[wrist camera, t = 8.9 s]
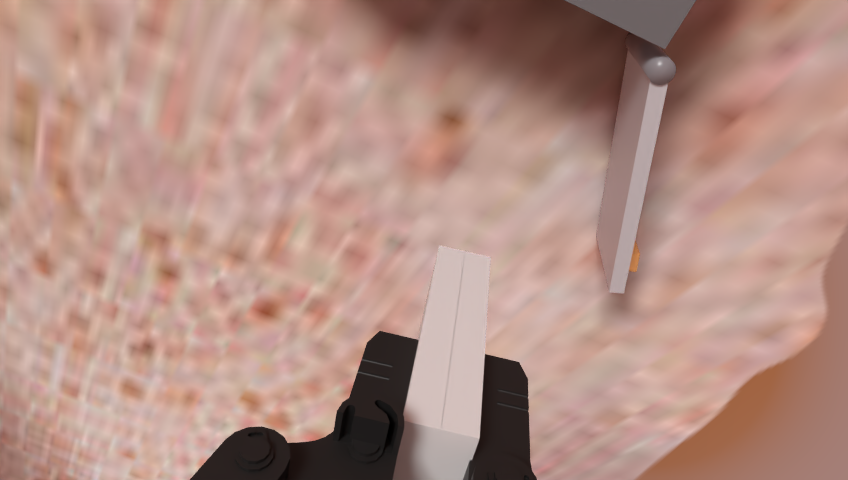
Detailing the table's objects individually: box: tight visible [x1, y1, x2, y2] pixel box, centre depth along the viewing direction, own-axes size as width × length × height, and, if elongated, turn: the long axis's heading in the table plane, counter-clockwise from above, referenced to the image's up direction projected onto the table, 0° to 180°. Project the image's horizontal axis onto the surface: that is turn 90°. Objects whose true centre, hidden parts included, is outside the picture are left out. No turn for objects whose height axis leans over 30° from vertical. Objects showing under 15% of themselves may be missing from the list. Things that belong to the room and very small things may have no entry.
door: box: [596, 32, 676, 294], centre depth 32 cm, size 13×2×7 cm, turn 179°
